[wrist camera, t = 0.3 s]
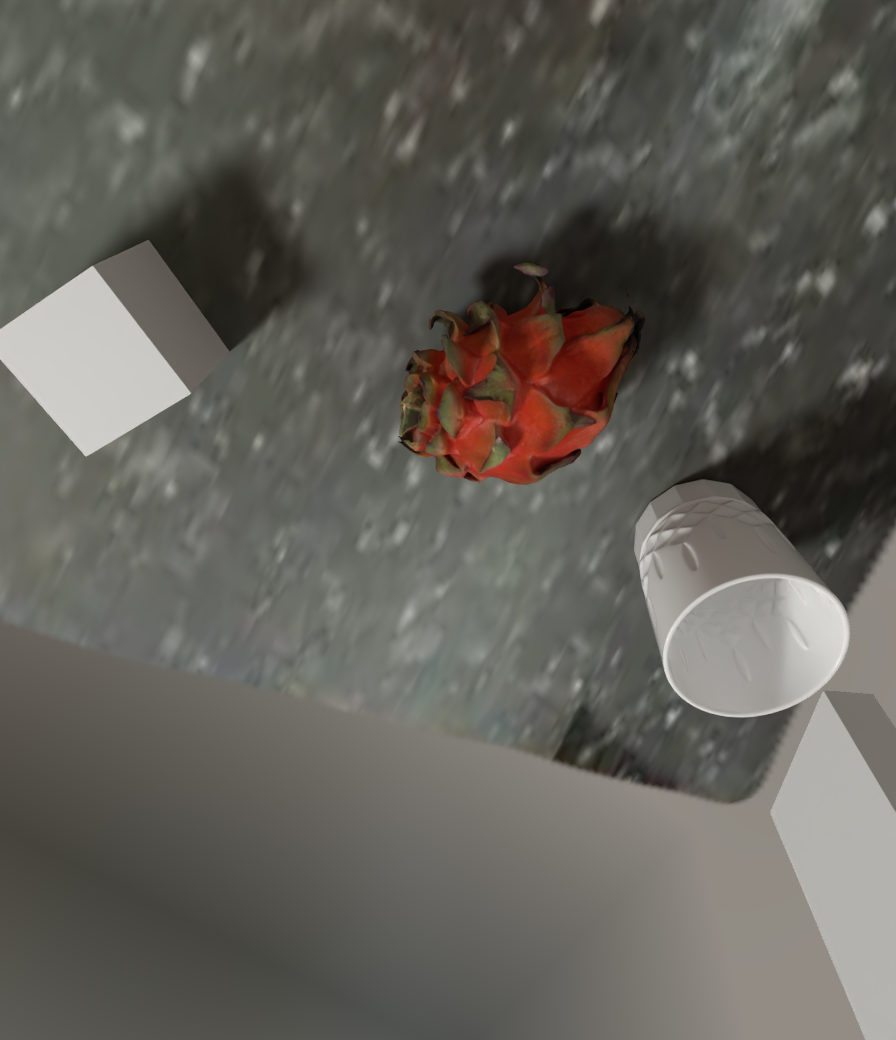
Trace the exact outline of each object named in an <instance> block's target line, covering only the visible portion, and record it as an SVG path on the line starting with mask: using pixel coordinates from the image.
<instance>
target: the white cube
mask: <svg viewBox="0 0 896 1040" xmlns="http://www.w3.org/2000/svg"><path fill="white" fill-rule="evenodd" d="M229 352H230V351H229V350H228V349H227V347H226V346H225V345H224V343H223V342H222V340H221V339H220V338H219V336H218V335H217V333H216V332H215V331H214V329H213V328H212V327H211V325H210V324H209V322H208V321H207V320H206V318H205V317H204V316H203V314H202V313H201V311H200V310H199V309H198V307H197V306H196V304H195V303H194V302H193V300H192V299H191V298H190V296H189V295H188V293H187V292H186V291H185V289H184V288H183V287H182V285H181V284H180V282H179V281H178V280H177V278H176V277H175V276H174V274H173V273H172V271H171V270H170V269H169V267H168V266H167V264H166V263H165V262H164V260H163V259H162V258H161V256H160V255H159V253H158V252H157V251H156V249H155V248H154V247H153V245H152V244H151V242H150V241H149V240H147V241H145V242H143V243H140V244H138V245H136V246H134V247H132V248H130V249H128V250H125V251H123V252H121V253H119V254H117V255H115V256H112V257H110V258H108V259H106V260H104V261H102V262H99V263H97V264H95V265H93V266H91V267H90V268H89V269H87V270H86V271H84V272H83V273H81V274H80V275H78V276H77V277H75V278H74V279H73V280H71V281H70V282H68V283H67V284H65V285H64V286H62V287H61V288H59V289H58V290H57V291H55V292H54V293H52V294H51V295H49V296H48V297H46V298H45V299H44V300H42V301H41V302H39V303H38V304H36V305H35V306H33V307H32V308H30V309H29V310H28V311H26V312H25V313H23V314H22V315H20V316H19V317H17V318H16V319H15V320H13V321H12V322H10V323H9V324H7V325H6V326H4V327H3V328H1V329H0V359H1V360H2V362H3V363H4V364H5V365H6V366H7V367H8V368H9V370H10V371H11V372H12V373H13V374H14V375H15V376H16V378H17V379H18V380H19V381H20V382H21V383H22V384H23V385H24V387H25V388H26V389H27V390H28V391H29V392H30V393H31V395H32V396H33V397H34V398H35V399H36V400H37V401H38V403H39V404H40V405H41V406H42V407H43V408H44V409H45V411H46V412H47V413H48V414H49V415H50V416H51V417H52V418H53V420H54V421H55V422H56V423H57V424H58V425H59V426H60V428H61V429H62V430H63V431H64V432H65V433H66V434H67V436H68V437H69V438H70V439H71V440H72V441H73V442H74V444H75V445H76V446H77V447H78V448H79V449H80V450H81V451H82V453H83V454H84V455H85V456H88V455H90V454H91V453H93V452H95V451H96V450H98V449H100V448H101V447H103V446H105V445H106V444H108V443H110V442H111V441H113V440H115V439H116V438H118V437H120V436H121V435H123V434H125V433H126V432H128V431H130V430H131V429H133V428H135V427H136V426H138V425H140V424H141V423H143V422H145V421H146V420H148V419H150V418H151V417H153V416H155V415H156V414H158V413H160V412H161V411H163V410H165V409H166V408H168V407H170V406H171V405H173V404H175V403H176V402H178V401H180V400H181V399H183V398H185V397H186V396H188V395H189V394H191V393H192V392H193V391H194V390H195V389H196V388H197V387H198V386H199V384H200V383H201V382H202V381H203V380H204V379H205V378H206V377H207V376H208V375H209V374H210V372H211V371H212V370H213V369H214V368H215V367H216V366H217V365H218V364H219V363H220V362H221V360H222V359H223V358H224V357H225V356H226V355H227V354H228V353H229Z"/></svg>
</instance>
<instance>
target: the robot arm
mask: <svg viewBox="0 0 896 1040" xmlns="http://www.w3.org/2000/svg"><path fill="white" fill-rule="evenodd" d="M770 813H771V815H772V818H773V820H774V823H775V825H776V828H777V830H778V832H779V835H780V837H781V839H782V842H783V844H784V847H785V849H786V851H787V854H788V856H789V859H790V861H791V863H792V866H793V868H794V870H795V873H796V875H797V878H798V880H799V882H800V884H801V887H802V890H803V892H804V894H805V897H806V899H807V901H808V904H809V906H810V909H811V911H812V913H813V916H814V918H815V921H816V923H817V925H818V928H819V930H820V933H821V935H822V937H823V940H824V942H825V944H826V947H827V949H828V952H829V954H830V956H831V958H832V961H833V964H834V966H835V968H836V970H837V973H838V975H839V977H840V980H841V983H842V985H843V987H844V990H845V992H846V994H847V997H848V999H849V1002H850V1004H851V1006H852V1009H853V1011H854V1014H855V1016H856V1018H857V1021H858V1023H859V1026H860V1028H861V1030H862V1033H863V1035H864V1037H865V1040H896V728H895V727H894V725H893V724H892V722H891V721H890V719H889V718H888V716H887V715H886V713H885V712H884V710H883V709H882V707H881V706H880V704H879V703H878V701H877V700H876V698H875V697H874V695H873V694H862V693H850V692H837V691H823V692H822V695H821V697H820V700H819V702H818V704H817V706H816V708H815V711H814V713H813V715H812V718H811V720H810V722H809V725H808V727H807V729H806V731H805V734H804V736H803V739H802V741H801V743H800V745H799V748H798V750H797V752H796V754H795V757H794V759H793V761H792V764H791V766H790V768H789V771H788V773H787V775H786V778H785V780H784V782H783V784H782V787H781V789H780V791H779V794H778V796H777V798H776V800H775V803H774V805H773V807H772V810H771V812H770Z"/></svg>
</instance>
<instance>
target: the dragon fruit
mask: <svg viewBox="0 0 896 1040" xmlns="http://www.w3.org/2000/svg"><path fill="white" fill-rule="evenodd" d="M514 268H515V269H518V270H520V271H522V273H524V274H526V275H529V276H531V277H532V278H534V280H535V281H536V282H537V283H538V285H539V290H538V292H537V294H536V296H535V297H534V299H533V300H532V301H531V302H530V304H529V305H528V306H527V307H526V308H524V309H522V310H520V311H518V312H516V313H514V314H511V315H509V316H507V312H506V311H505V310H504V309H503V308H502V307H501V306H499V305H497V304H495V303H493V302H490V303H488V304H486V303H485V302H483V301H482V300H479V301H476V302H474V303H473V304H471V306H470V307H469V308H468V311H467V313H468V316H469V320H470V323H469V325H467V324H466V323H465V322H464V321H463V320H462V319H461V318H460V317H459V316H458V315H456V314H455V313H453V312H449V311H442V310H437V311H435V313H434V314H433V315H432V316H431V317H430V319H429V329H430V330H431V329H432V327H433V325H434V322H440V323H443V324H444V325H445V326H446V328H447V330H448V333H449V336H450V339H449V338H447V335H442V346H443V348H444V349H443V351H438V350H434V349H429V350H423V351H419V350H417V351H414V352H413V357H412V358H411V359H410V361H409V362H408V364H407V367H406V371H408V372H409V374H410V375H408V376H407V377H406V380H405V389H406V391H405V392H404V393H403V395H402V401H401V404H400V407H401V410H402V413H401V426H400V430H399V435H400V436H401V437H400V436H398V437H400V438H401V440H402V442H400V443H402V444H403V445H404V446H405V447H406V448H408V449H409V450H410V451H411V452H413V453H414V454H415V455H417V456H419V457H429V456H435V458H436V470H437V472H440V473H441V474H443V475H446V476H449V477H452V476H455V477H459V478H462V477H463V478H465V479H468V480H470V481H474V482H482V481H483V480H484V479H486V478H487V477H496V478H500V479H502V480H505V481H507V482H509V483H513V484H522V485H528V484H532V483H535V482H538V481H540V480H541V479H543V478H544V477H545V476H546V475H548V474H549V473H552V472H553V471H555V470H557V469H558V468H561V467H564V466H566V465H568V464H571V463H573V462H574V461H575V460H576V459H577V458H578V457H579V456H580V454H581V449H580V448H584V447H586V446H588V445H589V444H591V443H592V441H593V440H594V439H595V437H596V436H597V435H599V433H600V432H601V431H602V430H603V429H604V428H605V427H606V425H607V424H608V422H609V420H610V418H611V414H612V411H613V406H614V402H615V400H616V397H617V395H618V393H616V391H617V388H618V385H619V382H620V380H621V378H622V376H623V374H624V372H626V370H627V368H628V366H629V365H630V363H631V361H632V360H633V358H634V357H635V355H636V354H637V352H638V348H639V344H640V339H641V333H640V331H641V329H642V327H643V325H644V322H645V318H644V315H643V313H641V312H640V311H636V313H635V314H634V312H633V310H632V309H631V307H630V306H629V312H628V314H627V315H624V314H623V313H622V312H621V311H620V310H619V309H617V308H615V307H613V306H608V305H607V306H606V305H599V304H598V303H597V302H596V301H595V300H592V299H590V298H587V299H585V300H584V301H583V302H582V303H581V304H580V305H579V306H578V307H577V308H566V307H563V308H561V309H559V310H558V311H556V308H555V291H554V285H552V286H549V287H547V286H546V284H545V283H544V281H543V279H542V278H541V276H544V275H546V274H549V271H548V269H547V268H545V267H542V266H539V265H536V263H521V264H517V265H515V266H514ZM620 286H621V285H620ZM621 287H622V286H621ZM625 289H626V288H625ZM626 294H627V293H626ZM627 296H629V295H628V294H627ZM634 304H635V303H634ZM636 309H637V308H636ZM562 313H565V314H564V315H563V316H561V314H562ZM634 324H635V325H634ZM633 325H634V331H633V333H632V334H631V335H630V332H631V329H632V327H633ZM629 335H630V336H629Z"/></svg>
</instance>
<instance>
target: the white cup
mask: <svg viewBox="0 0 896 1040" xmlns="http://www.w3.org/2000/svg"><path fill="white" fill-rule="evenodd" d="M634 551H635V554H636V558H637V561H638V565H639V568H640V576H641V582H642V587H643V591H644V594H645V598H646V604H647V608H648V612H649V615H650V619H651V623H652V626H653V630H654V633H655V637H656V641H657V644H658V648H659V652H660V655H661V659H662V663H663V667H664V670H665V674H666V676H667V679H668V681H669V683H670V685H671V686H672V688H673V689H674V690H675V691H676V693H677V694H678V695H679V696H680V697H681V698H683V699H684V700H685V701H686V702H688V703H689V704H691V705H693V706H694V707H696V708H698V709H701V710H703V711H706V712H709V713H712V714H716V715H721V716H728V717H753V716H761V715H766V714H770V713H774V712H778V711H781V710H784V709H786V708H789V707H791V706H793V705H796V704H798V703H800V702H801V701H803V700H805V699H806V698H808V697H810V696H811V695H812V694H814V693H815V692H817V691H818V690H819V689H821V688H822V687H823V686H824V685H825V684H826V683H827V682H828V681H829V680H830V679H831V678H832V677H833V676H834V674H835V673H836V672H837V670H838V669H839V667H840V666H841V664H842V662H843V660H844V658H845V656H846V653H847V650H848V647H849V643H850V623H849V618H848V615H847V613H846V610H845V608H844V606H843V605H842V603H841V602H840V601H839V599H838V598H837V597H836V596H835V595H834V593H833V592H832V591H831V590H830V589H829V587H828V586H827V585H826V584H825V583H824V581H823V580H822V579H821V578H820V577H819V576H818V574H817V573H816V572H815V571H814V570H813V568H812V567H811V566H810V565H809V563H808V562H807V561H806V560H805V559H804V557H803V556H802V555H801V554H800V553H799V551H798V550H797V549H796V548H795V547H794V545H793V544H792V543H791V542H790V541H789V540H788V539H787V537H786V536H785V535H784V534H783V533H782V532H781V531H780V530H779V529H778V527H777V526H776V525H775V524H774V523H773V522H772V521H771V520H770V519H769V518H768V517H767V516H766V515H765V514H764V513H763V512H761V510H760V509H759V508H758V507H757V505H756V504H755V503H754V502H753V500H752V499H750V498H749V497H748V496H746V495H745V494H744V493H742V492H741V491H740V490H738V489H737V488H736V487H734V486H733V485H732V484H729V483H723V482H717V481H712V480H706V479H701V480H697V481H692V482H688V483H684V484H679V485H675V486H673V487H671V488H670V489H669V490H667V491H666V492H664V493H663V494H661V495H660V496H658V497H657V498H655V499H654V500H652V501H651V502H650V503H649V505H648V506H647V508H646V510H645V511H644V513H643V514H642V516H641V517H640V519H639V521H638V522H637V524H636V530H635V542H634Z"/></svg>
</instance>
